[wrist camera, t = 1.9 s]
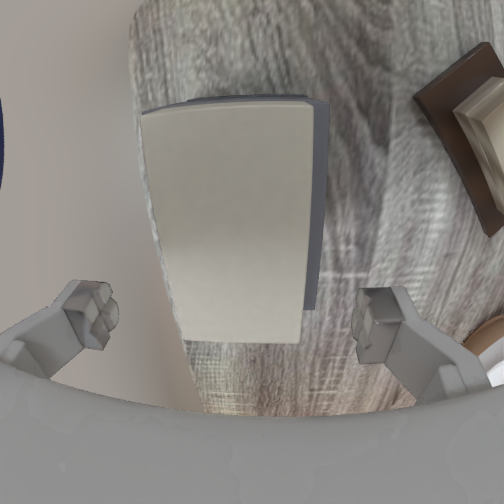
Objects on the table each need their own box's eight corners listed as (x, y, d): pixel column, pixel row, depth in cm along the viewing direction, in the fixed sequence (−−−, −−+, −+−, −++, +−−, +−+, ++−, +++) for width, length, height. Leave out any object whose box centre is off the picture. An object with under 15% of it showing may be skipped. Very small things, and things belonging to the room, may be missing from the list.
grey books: (194, 98, 20) (141, 112, 11) (304, 94, 19) (330, 102, 11) (206, 229, 26) (176, 308, 17) (301, 229, 25) (314, 310, 17)
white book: (161, 108, 11) (138, 115, 9) (305, 101, 11) (313, 105, 9) (192, 309, 17) (182, 340, 15) (297, 310, 17) (299, 344, 15)
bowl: (459, 385, 38) (473, 422, 31) (427, 353, 33) (445, 401, 27) (530, 329, 31) (550, 363, 24) (518, 279, 26) (548, 320, 20)
